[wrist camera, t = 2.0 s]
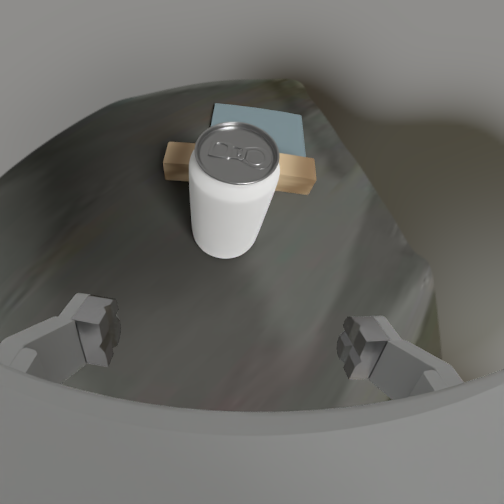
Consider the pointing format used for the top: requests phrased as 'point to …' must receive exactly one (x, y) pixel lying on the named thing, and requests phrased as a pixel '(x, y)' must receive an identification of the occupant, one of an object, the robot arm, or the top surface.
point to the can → (231, 186)
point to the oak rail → (291, 166)
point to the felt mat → (266, 125)
